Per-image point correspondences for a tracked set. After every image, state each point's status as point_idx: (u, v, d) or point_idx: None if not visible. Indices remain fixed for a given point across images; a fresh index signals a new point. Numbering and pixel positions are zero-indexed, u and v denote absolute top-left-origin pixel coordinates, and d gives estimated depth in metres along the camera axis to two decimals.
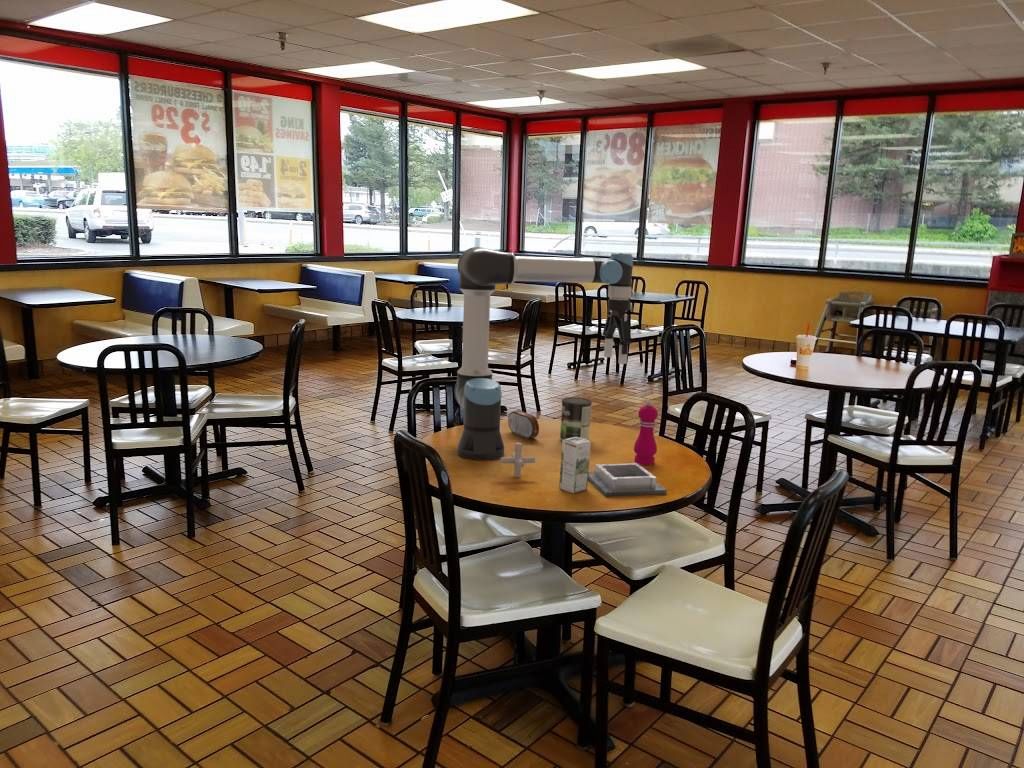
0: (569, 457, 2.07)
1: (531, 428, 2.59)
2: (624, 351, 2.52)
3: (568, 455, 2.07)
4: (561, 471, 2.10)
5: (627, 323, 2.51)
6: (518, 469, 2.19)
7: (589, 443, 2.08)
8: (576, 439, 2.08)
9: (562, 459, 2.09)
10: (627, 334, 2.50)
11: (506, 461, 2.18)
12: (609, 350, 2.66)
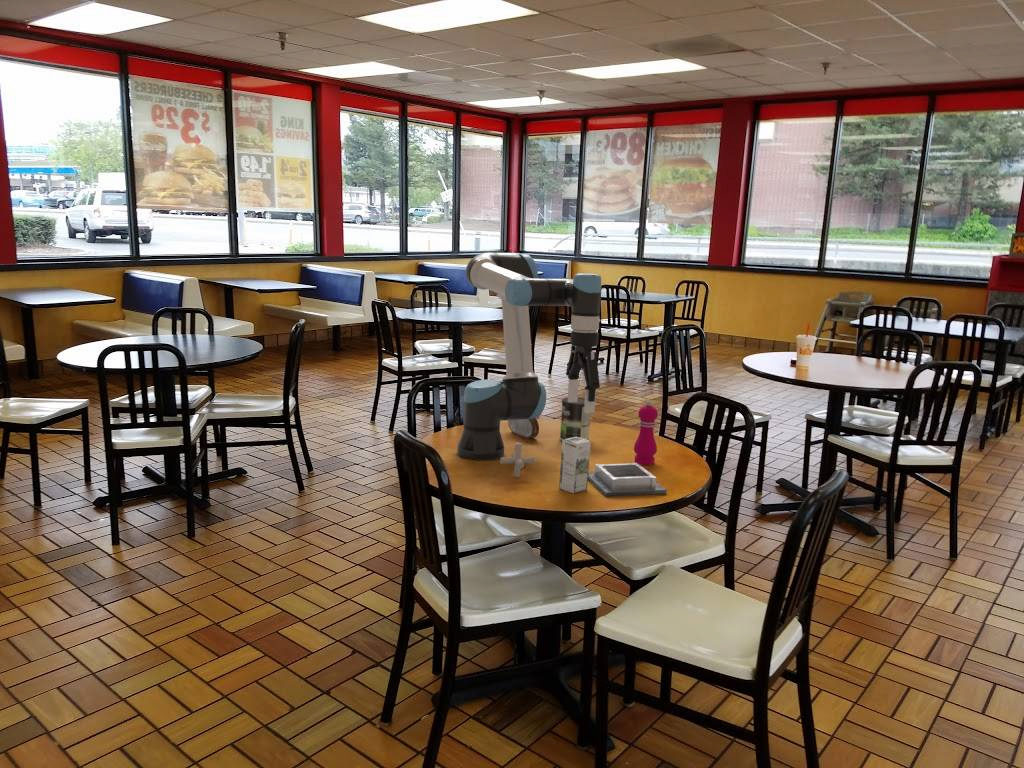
0: (569, 457, 2.07)
1: (531, 428, 2.59)
2: (591, 398, 2.00)
3: (568, 455, 2.07)
4: (561, 471, 2.10)
5: (594, 362, 1.99)
6: (518, 469, 2.19)
7: (589, 443, 2.08)
8: (576, 439, 2.08)
9: (562, 459, 2.09)
10: (595, 377, 1.98)
11: (506, 461, 2.18)
12: (574, 393, 2.14)
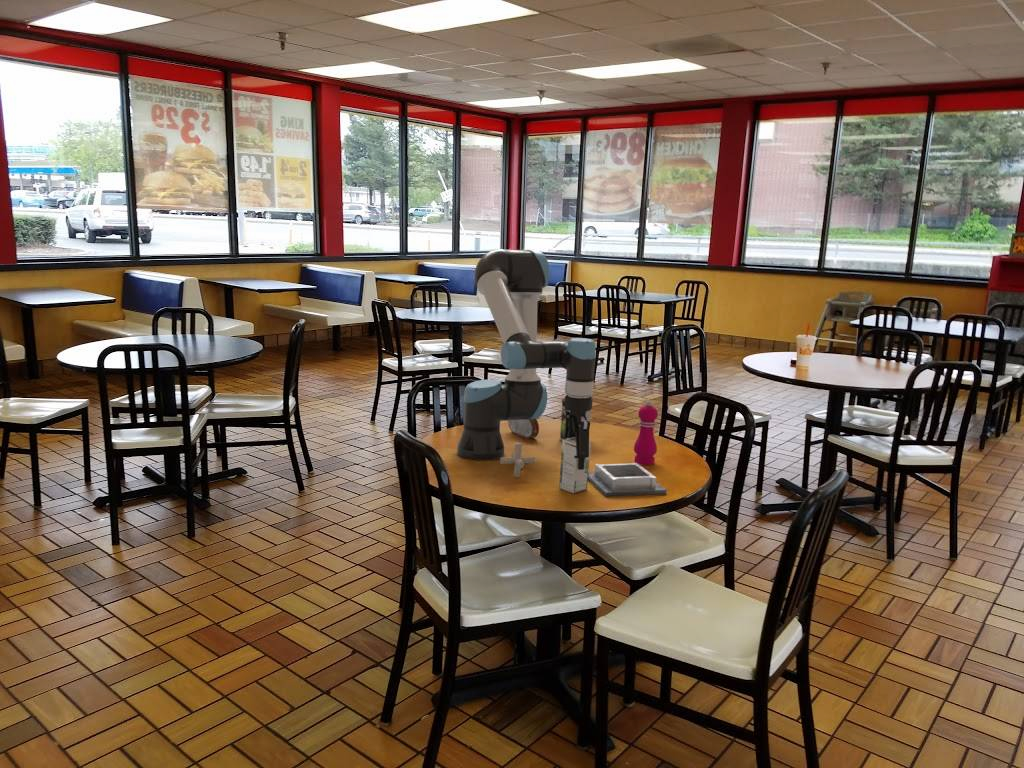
0: (569, 457, 2.07)
1: (531, 428, 2.59)
2: (580, 466, 2.04)
3: (568, 454, 2.07)
4: (561, 471, 2.10)
5: (587, 432, 2.01)
6: (518, 469, 2.19)
7: (589, 442, 2.08)
8: None
9: (562, 459, 2.09)
10: (585, 447, 2.02)
11: (506, 461, 2.18)
12: None
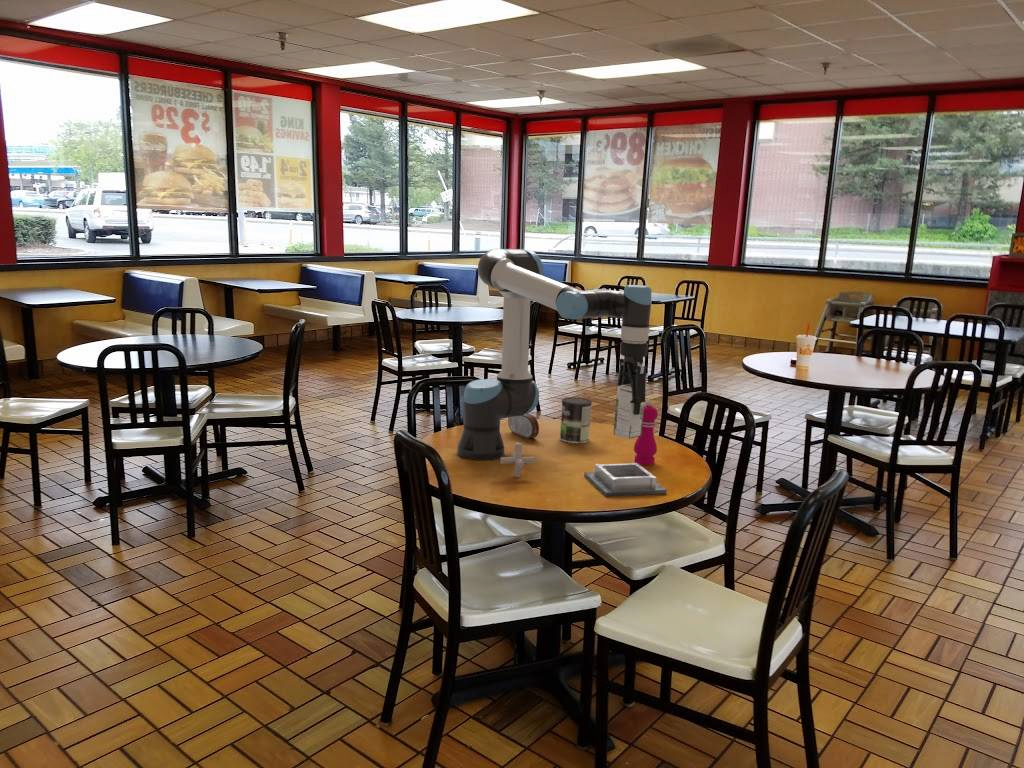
0: (624, 403, 2.10)
1: (531, 428, 2.59)
2: (636, 411, 2.07)
3: (623, 400, 2.10)
4: (616, 417, 2.13)
5: (643, 377, 2.04)
6: (518, 469, 2.19)
7: None
8: None
9: (617, 405, 2.12)
10: (642, 391, 2.04)
11: (506, 461, 2.18)
12: None
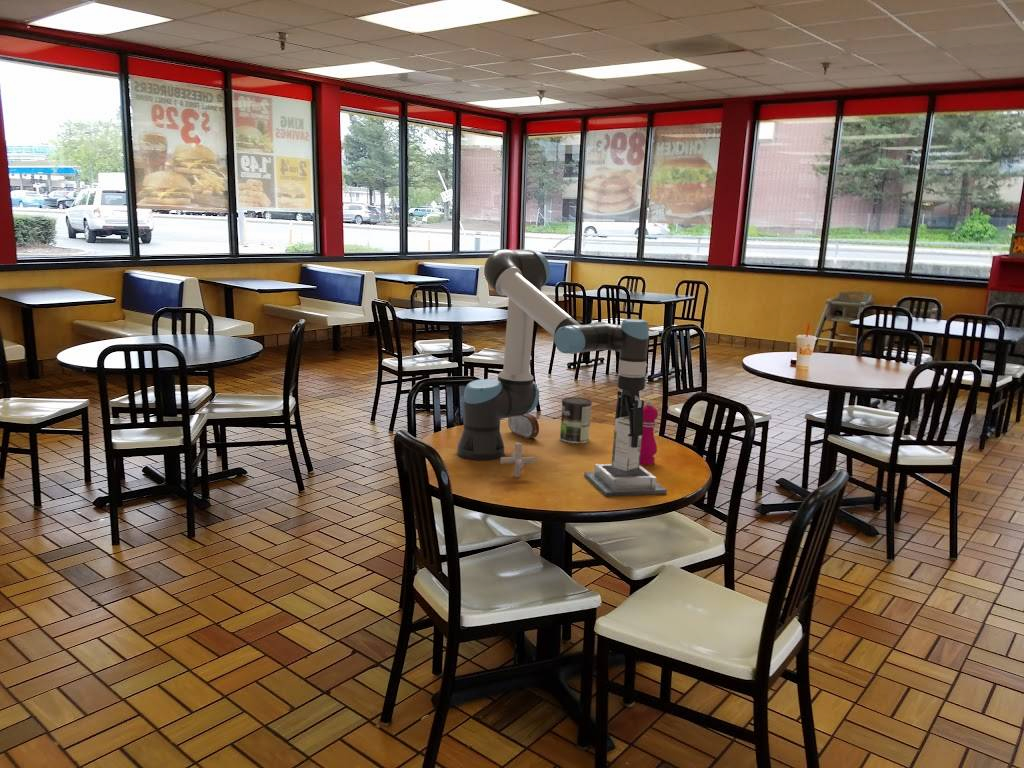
0: (622, 435, 2.12)
1: (531, 428, 2.59)
2: (634, 444, 2.09)
3: (621, 433, 2.12)
4: (614, 450, 2.14)
5: (641, 411, 2.06)
6: (518, 469, 2.19)
7: None
8: (628, 418, 2.13)
9: (615, 438, 2.14)
10: (639, 425, 2.06)
11: (506, 461, 2.18)
12: None
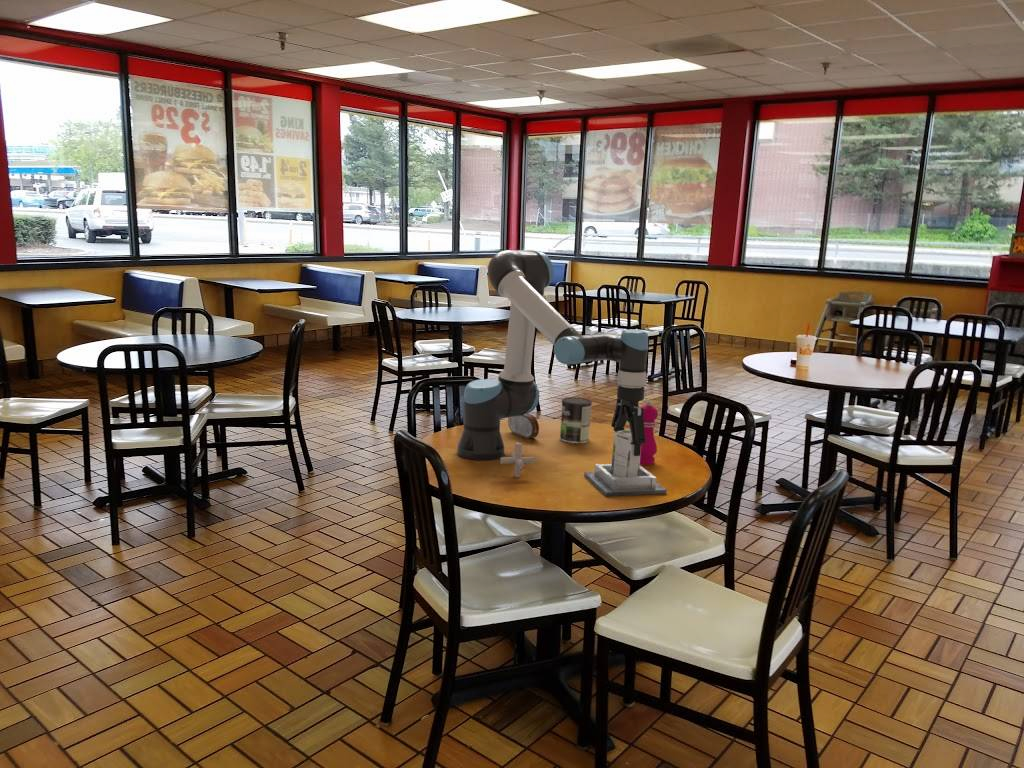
0: (621, 449, 2.12)
1: (531, 428, 2.59)
2: (637, 452, 2.07)
3: (620, 447, 2.13)
4: (613, 463, 2.15)
5: (641, 418, 2.06)
6: (518, 469, 2.19)
7: None
8: (628, 432, 2.14)
9: (614, 451, 2.14)
10: (641, 432, 2.05)
11: (506, 461, 2.18)
12: None
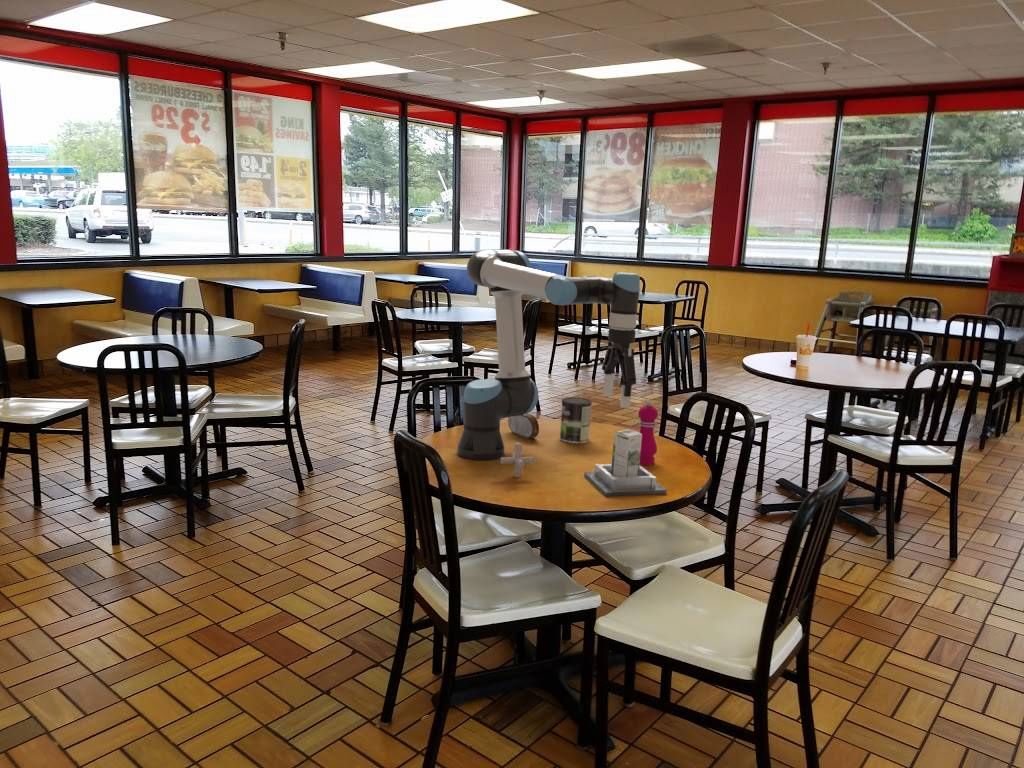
0: (621, 449, 2.12)
1: (531, 428, 2.59)
2: (627, 393, 2.07)
3: (620, 447, 2.13)
4: (613, 463, 2.15)
5: (631, 359, 2.07)
6: (518, 469, 2.19)
7: (640, 435, 2.13)
8: (628, 432, 2.14)
9: (614, 451, 2.14)
10: (632, 373, 2.06)
11: (506, 461, 2.18)
12: (609, 387, 2.22)
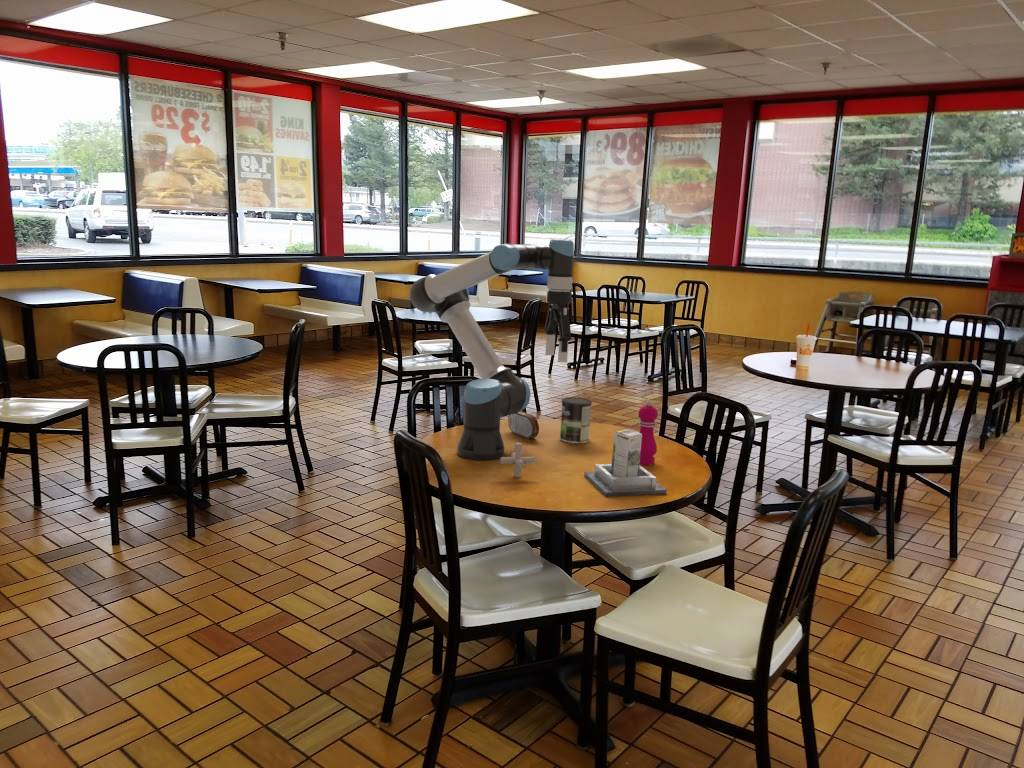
0: (621, 449, 2.12)
1: (531, 428, 2.59)
2: (564, 348, 2.27)
3: (620, 447, 2.13)
4: (613, 463, 2.15)
5: (567, 317, 2.26)
6: (518, 469, 2.19)
7: (640, 435, 2.13)
8: (628, 432, 2.14)
9: (614, 451, 2.14)
10: (567, 329, 2.25)
11: (506, 461, 2.18)
12: (551, 347, 2.42)
